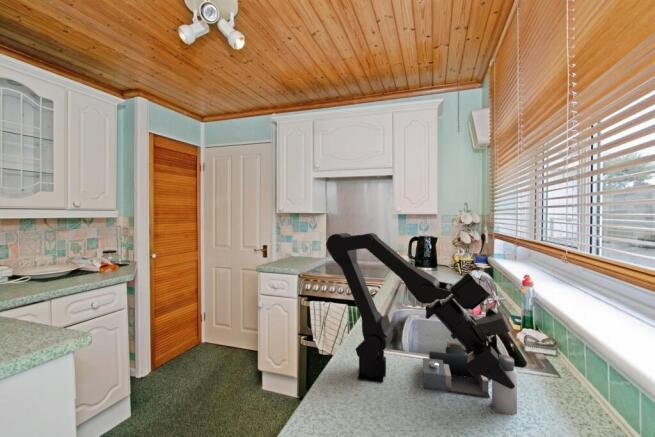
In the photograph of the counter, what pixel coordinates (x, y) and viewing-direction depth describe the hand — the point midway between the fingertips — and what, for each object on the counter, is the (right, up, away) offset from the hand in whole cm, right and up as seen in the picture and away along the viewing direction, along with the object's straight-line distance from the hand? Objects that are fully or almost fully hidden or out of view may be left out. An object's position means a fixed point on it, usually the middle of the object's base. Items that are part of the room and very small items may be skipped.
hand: (511, 379), depth 68 cm
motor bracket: (-9, -6, +10) cm, 15 cm away
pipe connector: (-4, -7, +19) cm, 21 cm away
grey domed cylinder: (-1, -7, +1) cm, 7 cm away
